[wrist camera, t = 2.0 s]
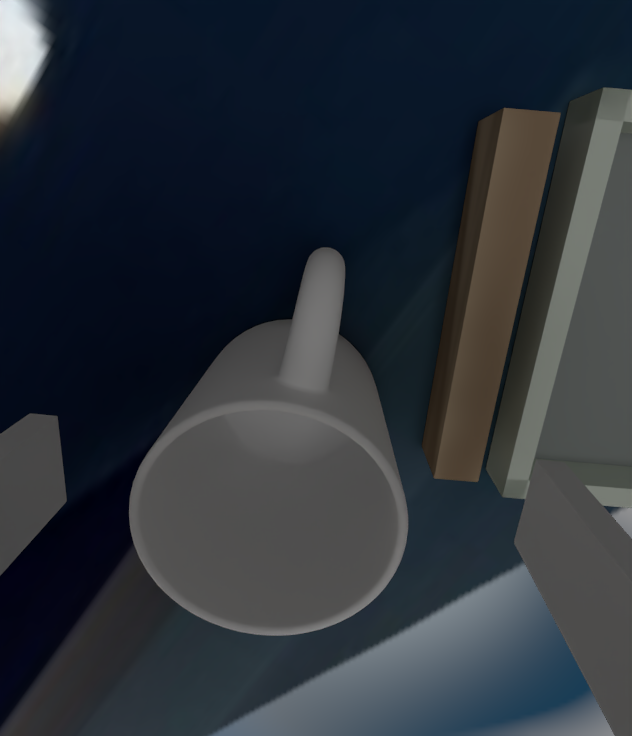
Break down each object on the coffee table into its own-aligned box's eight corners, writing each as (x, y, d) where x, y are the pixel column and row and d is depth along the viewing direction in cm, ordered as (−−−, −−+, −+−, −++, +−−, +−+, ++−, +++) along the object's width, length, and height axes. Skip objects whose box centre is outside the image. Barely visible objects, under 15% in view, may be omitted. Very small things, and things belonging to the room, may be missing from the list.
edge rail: (421, 446, 24) (434, 478, 22) (478, 121, 19) (504, 107, 17) (460, 449, 24) (478, 482, 22) (527, 125, 19) (560, 112, 17)
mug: (241, 214, 21) (166, 224, 11) (421, 261, 21) (499, 310, 12) (197, 448, 25) (112, 607, 15) (350, 483, 25) (363, 659, 16)
